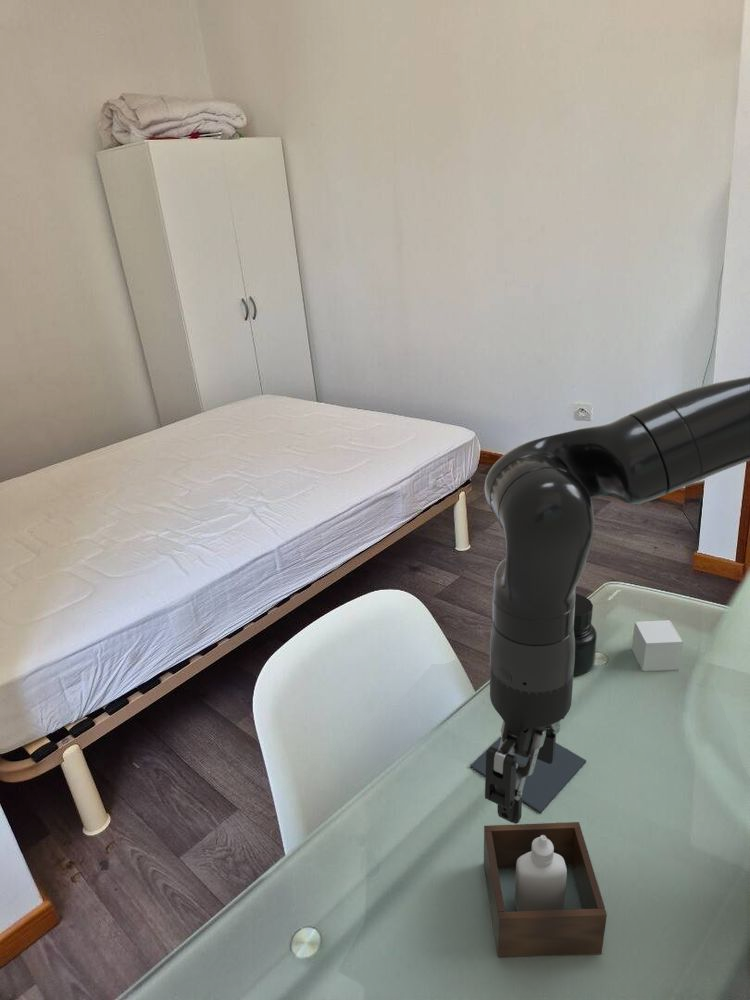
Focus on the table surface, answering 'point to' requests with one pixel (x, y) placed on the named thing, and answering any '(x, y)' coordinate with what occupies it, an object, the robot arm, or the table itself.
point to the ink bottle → (583, 635)
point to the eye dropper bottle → (540, 878)
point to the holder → (544, 927)
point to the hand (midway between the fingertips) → (527, 786)
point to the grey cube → (656, 645)
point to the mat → (542, 775)
